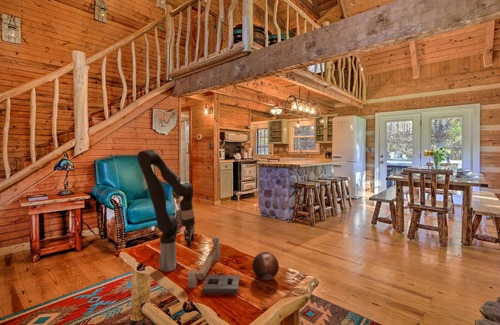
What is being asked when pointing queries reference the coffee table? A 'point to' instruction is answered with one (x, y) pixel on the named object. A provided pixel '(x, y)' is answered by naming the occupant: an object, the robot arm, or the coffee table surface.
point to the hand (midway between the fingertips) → (190, 243)
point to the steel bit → (192, 278)
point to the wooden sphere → (265, 266)
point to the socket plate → (221, 284)
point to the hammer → (210, 258)
